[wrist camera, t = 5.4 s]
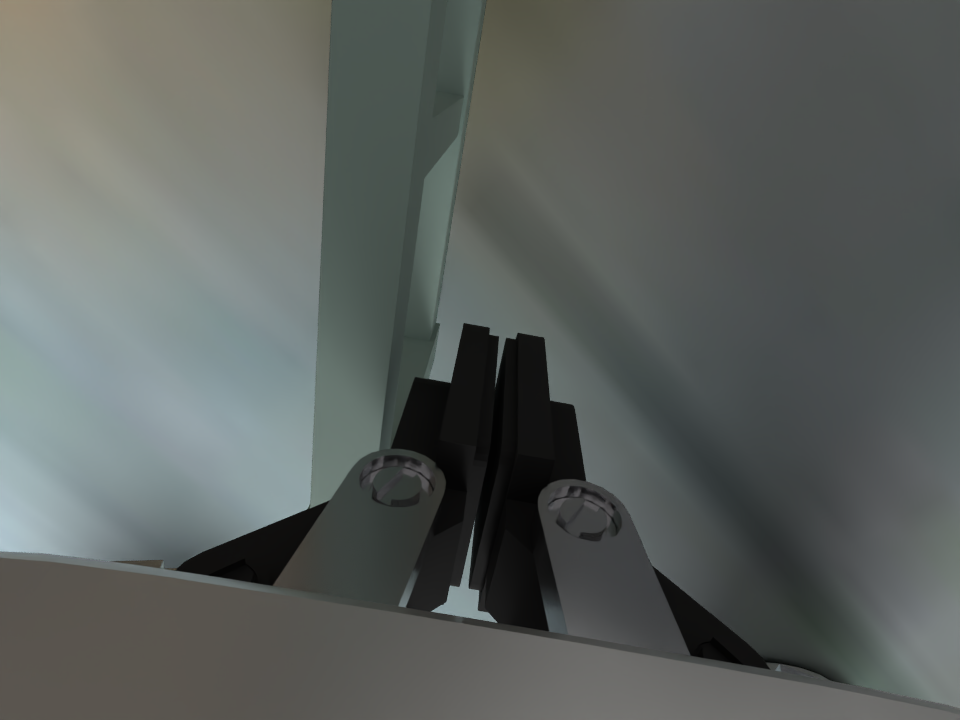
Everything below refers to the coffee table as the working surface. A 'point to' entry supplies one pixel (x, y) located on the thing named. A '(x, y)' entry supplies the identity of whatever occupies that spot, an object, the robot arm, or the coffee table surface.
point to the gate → (386, 214)
